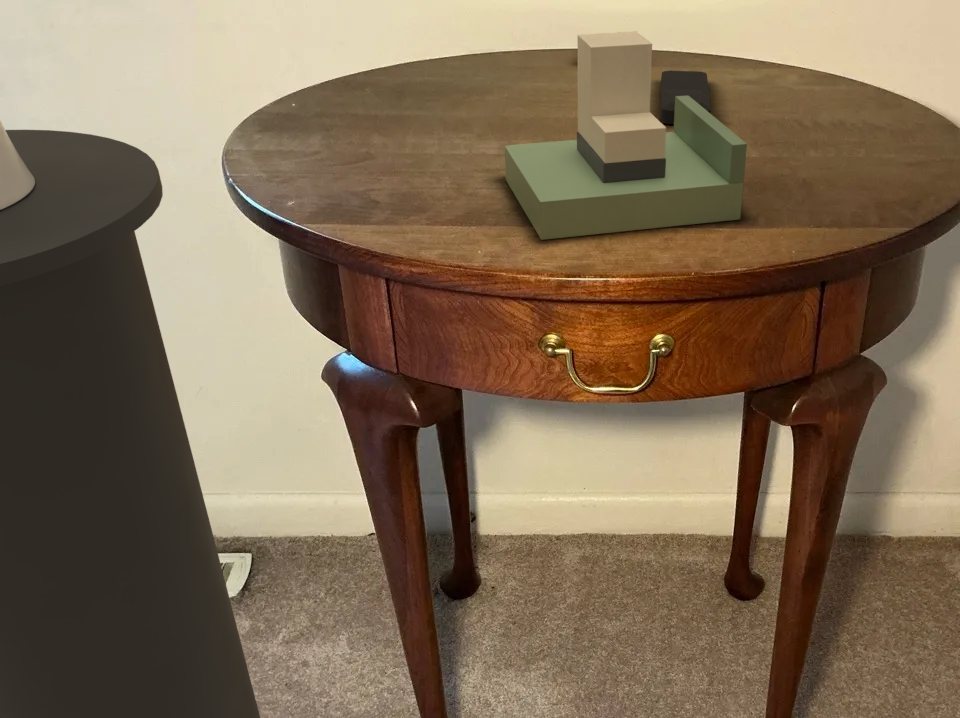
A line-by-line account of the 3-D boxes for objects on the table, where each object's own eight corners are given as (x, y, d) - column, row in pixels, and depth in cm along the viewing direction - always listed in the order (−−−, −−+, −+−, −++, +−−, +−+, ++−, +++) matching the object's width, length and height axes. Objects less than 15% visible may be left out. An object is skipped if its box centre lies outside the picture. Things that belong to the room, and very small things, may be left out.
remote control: (660, 87, 114) (660, 124, 101) (661, 70, 113) (661, 105, 100) (705, 88, 114) (711, 125, 101) (707, 71, 113) (712, 106, 100)
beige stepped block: (576, 149, 86) (576, 34, 81) (634, 144, 87) (637, 31, 82) (603, 183, 80) (604, 60, 75) (665, 177, 81) (670, 56, 76)
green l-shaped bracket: (540, 240, 78) (539, 161, 75) (505, 180, 89) (502, 108, 85) (740, 219, 82) (747, 143, 79) (684, 164, 92) (688, 95, 89)
